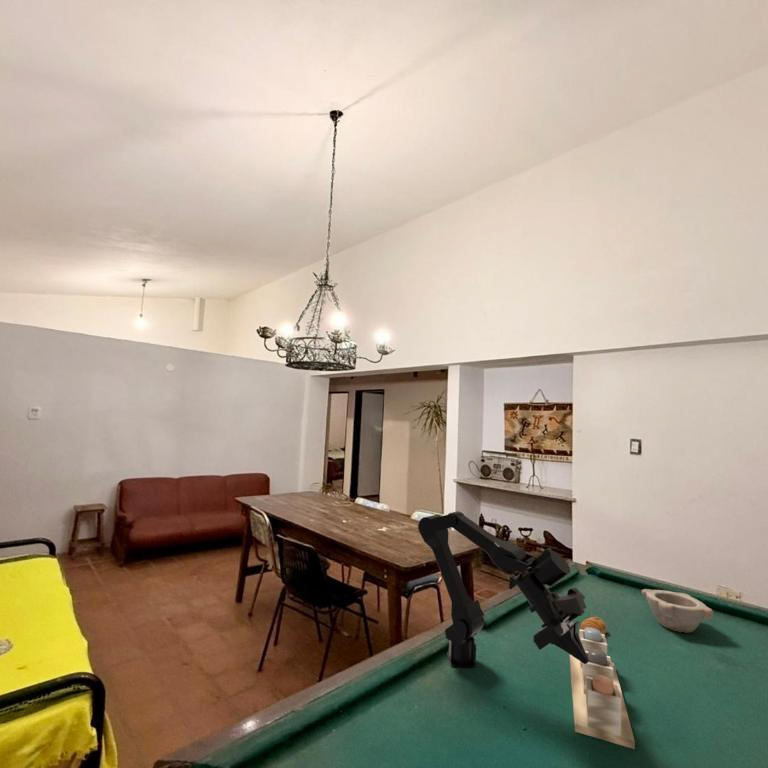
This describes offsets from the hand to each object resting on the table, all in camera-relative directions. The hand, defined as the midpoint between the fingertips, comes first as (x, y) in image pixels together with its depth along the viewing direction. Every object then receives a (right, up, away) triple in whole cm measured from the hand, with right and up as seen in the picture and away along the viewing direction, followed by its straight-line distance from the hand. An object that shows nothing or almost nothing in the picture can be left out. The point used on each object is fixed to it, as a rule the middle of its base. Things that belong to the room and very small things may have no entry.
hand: (587, 662), depth 94 cm
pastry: (+22, -17, +41) cm, 49 cm away
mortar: (+53, -19, +48) cm, 74 cm away
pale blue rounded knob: (+11, -9, +20) cm, 24 cm away
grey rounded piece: (+7, -8, +8) cm, 13 cm away
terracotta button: (+2, -7, -3) cm, 8 cm away
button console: (+6, -13, +8) cm, 17 cm away
